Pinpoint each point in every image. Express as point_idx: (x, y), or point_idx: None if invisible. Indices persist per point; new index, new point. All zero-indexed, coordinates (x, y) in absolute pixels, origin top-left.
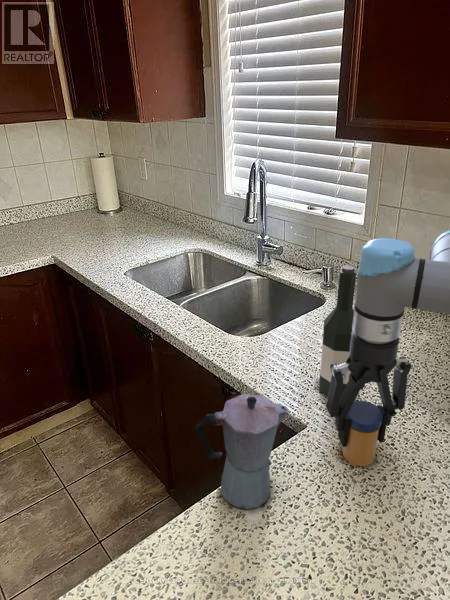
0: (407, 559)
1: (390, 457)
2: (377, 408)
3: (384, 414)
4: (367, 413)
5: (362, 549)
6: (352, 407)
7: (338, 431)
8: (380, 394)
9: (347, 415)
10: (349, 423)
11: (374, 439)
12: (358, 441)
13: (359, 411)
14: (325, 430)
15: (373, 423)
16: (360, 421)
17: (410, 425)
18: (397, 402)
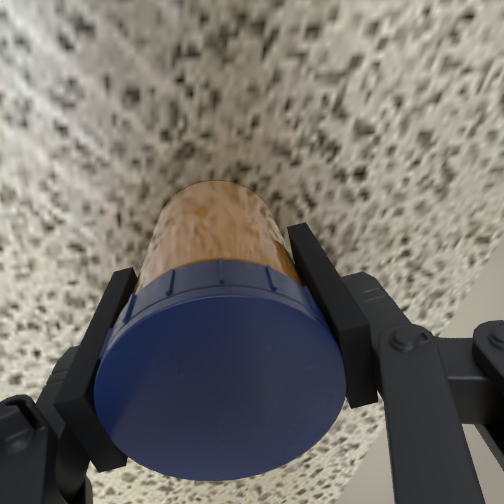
0: (281, 486)
1: (331, 241)
2: (328, 356)
3: (356, 400)
4: (246, 407)
5: (195, 487)
6: (142, 373)
7: (106, 289)
8: (391, 468)
9: (106, 445)
10: None
11: None
12: None
13: (192, 400)
14: (75, 114)
15: (267, 467)
16: (190, 469)
17: (486, 41)
18: (496, 446)
